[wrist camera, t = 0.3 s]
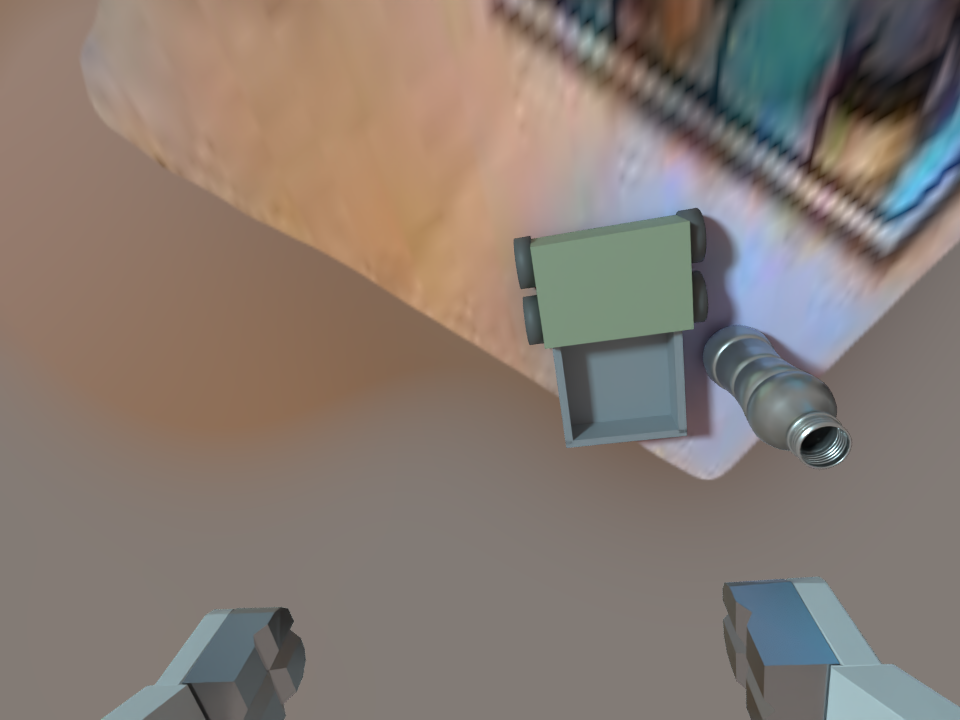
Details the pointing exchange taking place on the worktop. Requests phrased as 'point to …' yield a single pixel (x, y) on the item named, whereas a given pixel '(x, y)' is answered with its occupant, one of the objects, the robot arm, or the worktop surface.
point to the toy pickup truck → (617, 322)
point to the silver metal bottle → (777, 397)
